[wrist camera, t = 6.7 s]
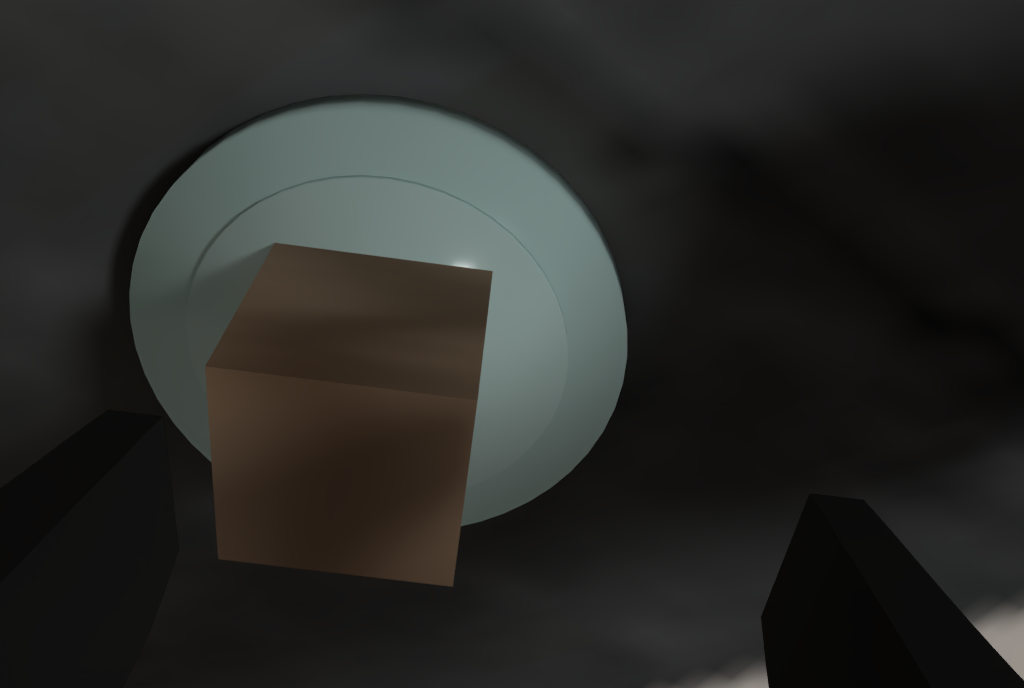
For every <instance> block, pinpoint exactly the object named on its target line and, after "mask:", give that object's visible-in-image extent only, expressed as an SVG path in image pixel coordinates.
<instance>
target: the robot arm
mask: <svg viewBox="0 0 1024 688" xmlns="http://www.w3.org/2000/svg"><path fill="white" fill-rule="evenodd" d="M178 551H179V546H178V538H177V529H176V521H175V512H174V504H173V495H172V486H171V478H170V469H169V461H168V452H167V444H166V435H165V427H164V418H163V416H154V415H146V414H138V413H129V412H121V411H112V410H107V411H106V412H104V413H103V414H101V415H100V416H99V417H97V418H96V419H94V420H93V421H92V422H90V423H89V424H87V425H86V426H85V427H83V428H82V429H81V430H79V431H78V432H76V433H75V434H74V435H72V436H71V437H70V438H68V439H67V440H66V441H64V442H63V443H61V444H60V445H59V446H57V447H56V448H55V449H53V450H52V451H51V452H49V453H48V454H47V455H45V456H44V457H42V458H41V459H40V460H38V461H37V462H36V463H34V464H33V465H32V466H30V467H29V468H28V469H26V470H25V471H23V472H22V473H21V474H19V475H18V476H17V477H15V478H14V479H13V480H11V481H10V482H9V483H7V484H6V485H4V486H3V487H2V488H0V688H122V687H123V685H124V683H125V681H126V679H127V677H128V675H129V673H130V671H131V669H132V667H133V665H134V663H135V661H136V659H137V657H138V655H139V653H140V651H141V649H142V647H143V645H144V643H145V641H146V639H147V637H148V635H149V632H150V630H151V627H152V624H153V622H154V619H155V616H156V613H157V611H158V608H159V605H160V603H161V600H162V597H163V594H164V591H165V589H166V586H167V583H168V580H169V577H170V574H171V571H172V568H173V565H174V562H175V559H176V556H177V553H178ZM761 621H762V630H763V640H764V650H765V660H766V669H767V676H768V684H769V688H1024V680H1023V679H1022V678H1021V677H1020V676H1019V675H1018V674H1017V673H1016V672H1015V671H1014V670H1013V669H1012V668H1011V667H1010V665H1008V663H1007V662H1006V661H1005V660H1004V659H1003V658H1002V657H1001V656H1000V655H999V653H998V652H997V651H996V650H995V649H994V648H993V647H992V646H991V645H990V644H989V642H988V641H987V640H986V639H985V638H984V637H983V636H982V635H981V633H980V632H979V631H978V630H977V629H976V628H975V627H974V626H973V625H972V623H971V622H970V621H969V620H968V619H967V618H966V617H965V616H964V614H963V613H962V612H961V611H960V610H959V609H958V608H957V606H956V605H955V604H954V603H953V602H952V601H951V600H950V598H949V597H948V596H947V595H946V594H945V593H944V592H943V590H942V589H941V588H940V587H939V586H938V585H937V583H936V582H935V581H934V580H933V579H932V578H931V576H930V575H929V574H928V573H927V572H926V571H925V570H924V568H923V567H922V566H921V565H920V564H919V563H918V561H917V560H916V559H915V558H914V557H913V556H912V554H911V553H910V552H909V551H908V550H907V549H906V547H905V546H904V545H903V544H902V543H901V542H900V540H899V539H898V538H897V537H896V536H895V535H894V533H893V532H892V531H891V530H890V529H889V528H888V527H887V525H886V524H885V523H884V522H883V521H882V520H881V519H880V517H879V516H878V515H877V514H876V513H875V512H874V511H873V510H872V509H871V508H870V506H869V505H868V504H867V503H866V502H865V501H864V500H860V499H852V498H843V497H835V496H826V495H818V494H809V496H808V499H807V501H806V504H805V507H804V509H803V512H802V514H801V517H800V519H799V522H798V524H797V527H796V529H795V532H794V534H793V537H792V540H791V542H790V545H789V547H788V550H787V552H786V555H785V557H784V560H783V562H782V565H781V567H780V570H779V573H778V575H777V578H776V580H775V583H774V585H773V588H772V590H771V593H770V595H769V598H768V600H767V603H766V606H765V608H764V611H763V613H762V616H761Z"/></svg>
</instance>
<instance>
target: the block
mask: <svg viewBox="0 0 1024 688" xmlns="http://www.w3.org/2000/svg"><path fill="white" fill-rule="evenodd" d="M492 274H493V271H488V270H481V269H473V268H465V267H458V266H450V265H442V264H435V263H427V262H419V261H412V260H404V259H396V258H389V257H381V256H373V255H366V254H358V253H350V252H343V251H335V250H327V249H320V248H312V247H304V246H297V245H289V244H281V243H274V245H273V247H272V249H271V251H270V252H269V254H268V256H267V258H266V259H265V261H264V263H263V265H262V266H261V268H260V270H259V272H258V274H257V275H256V277H255V279H254V281H253V282H252V284H251V286H250V288H249V289H248V291H247V293H246V295H245V296H244V298H243V300H242V302H241V304H240V305H239V307H238V309H237V311H236V312H235V314H234V316H233V318H232V319H231V321H230V323H229V325H228V327H227V328H226V330H225V332H224V334H223V335H222V337H221V339H220V341H219V342H218V344H217V346H216V348H215V350H214V351H213V353H212V355H211V357H210V358H209V360H208V362H207V364H206V365H205V374H206V389H207V403H208V418H209V432H210V447H211V462H212V476H213V491H214V505H215V520H216V534H217V549H218V559H221V560H230V561H238V562H247V563H255V564H264V565H272V566H281V567H289V568H298V569H306V570H315V571H323V572H332V573H340V574H349V575H357V576H366V577H374V578H383V579H391V580H400V581H408V582H417V583H425V584H434V585H442V586H450V587H453V582H454V574H455V567H456V559H457V552H458V544H459V537H460V529H461V522H462V514H463V507H464V499H465V491H466V484H467V476H468V469H469V461H470V454H471V446H472V439H473V431H474V424H475V416H476V409H477V401H478V393H479V384H480V376H481V367H482V359H483V350H484V342H485V333H486V325H487V316H488V308H489V299H490V291H491V282H492Z"/></svg>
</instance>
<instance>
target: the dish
mask: <svg viewBox="0 0 1024 688" xmlns="http://www.w3.org/2000/svg"><path fill="white" fill-rule="evenodd" d="M274 243H281V244H289V245H297V246H304V247H312V248H320V249H327V250H335V251H343V252H350V253H358V254H366V255H373V256H381V257H389V258H396V259H404V260H412V261H419V262H427V263H435V264H442V265H450V266H458V267H465V268H473V269H481V270H488V271H493V274H492V282H491V291H490V299H489V308H488V316H487V325H486V333H485V342H484V350H483V359H482V367H481V376H480V384H479V393H478V401H477V409H476V416H475V424H474V431H473V439H472V446H471V454H470V461H469V469H468V476H467V484H466V491H465V499H464V507H463V514H462V522H461V526H464V525H468V524H473V523H477V522H481V521H483V520H486V519H489V518H492V517H495V516H498V515H501V514H504V513H506V512H508V511H510V510H513V509H515V508H517V507H519V506H521V505H523V504H525V503H527V502H529V501H531V500H532V499H534V498H536V497H537V496H539V495H540V494H542V493H544V492H545V491H547V490H548V489H550V488H551V487H553V486H554V485H555V484H556V483H557V482H559V481H560V480H561V479H562V478H564V477H565V476H566V475H567V474H568V473H570V472H571V471H572V470H573V469H574V468H575V467H576V465H577V464H578V463H579V462H580V461H581V460H582V459H583V458H584V457H585V456H586V455H587V454H588V453H589V451H590V450H591V448H592V447H593V445H594V444H595V443H596V441H597V440H598V438H599V437H600V436H601V434H602V433H603V431H604V429H605V427H606V425H607V423H608V421H609V419H610V417H611V415H612V413H613V411H614V409H615V407H616V403H617V400H618V397H619V394H620V391H621V388H622V385H623V380H624V374H625V367H626V361H627V324H626V316H625V308H624V302H623V295H622V289H621V282H620V277H619V274H618V271H617V268H616V264H615V261H614V258H613V255H612V252H611V249H610V247H609V245H608V243H607V241H606V239H605V237H604V235H603V233H602V231H601V229H600V227H599V225H598V223H597V221H596V220H595V218H594V217H593V215H592V214H591V212H590V211H589V209H588V208H587V206H586V205H585V203H584V202H583V201H582V199H581V198H580V196H579V195H578V194H577V193H576V192H575V191H574V190H573V189H572V187H571V186H570V185H569V184H568V183H567V182H566V181H565V180H564V178H563V177H562V176H561V175H560V174H559V173H558V172H557V171H556V170H555V169H553V168H552V167H551V166H550V165H549V164H548V163H546V162H545V161H544V160H543V159H542V158H541V157H539V156H538V155H537V154H536V153H535V152H534V151H532V150H531V149H529V148H528V147H526V146H525V145H523V144H522V143H520V142H519V141H517V140H516V139H514V138H512V137H511V136H509V135H508V134H506V133H505V132H503V131H501V130H499V129H497V128H495V127H493V126H491V125H489V124H487V123H485V122H483V121H481V120H479V119H477V118H475V117H473V116H470V115H467V114H464V113H461V112H458V111H456V110H453V109H450V108H447V107H444V106H441V105H438V104H434V103H429V102H424V101H419V100H414V99H409V98H404V97H397V96H384V95H370V94H357V95H339V96H327V97H322V98H317V99H311V100H306V101H301V102H296V103H293V104H290V105H287V106H284V107H281V108H278V109H275V110H272V111H269V112H266V113H263V114H261V115H259V116H257V117H255V118H254V119H252V120H250V121H248V122H246V123H244V124H242V125H240V126H238V127H236V128H234V129H233V130H231V131H230V132H229V133H227V134H226V135H224V136H223V137H222V138H220V139H219V140H218V141H216V142H215V143H213V144H212V145H211V146H209V147H208V148H207V149H206V150H205V151H204V152H203V153H202V154H201V155H200V156H199V157H198V158H197V159H196V160H195V161H194V162H193V163H192V164H191V165H190V166H189V167H188V168H187V169H186V170H185V172H184V173H183V174H182V175H181V176H180V177H179V178H178V180H177V181H176V182H175V183H174V184H173V185H172V186H171V188H170V189H169V191H168V192H167V193H166V195H165V196H164V197H163V199H162V200H161V202H160V203H159V204H158V206H157V207H156V209H155V210H154V211H153V213H152V215H151V218H150V220H149V222H148V224H147V226H146V228H145V230H144V232H143V234H142V236H141V238H140V242H139V245H138V248H137V252H136V255H135V259H134V262H133V266H132V274H131V283H130V291H129V298H130V321H131V326H132V332H133V337H134V342H135V347H136V350H137V353H138V356H139V359H140V362H141V365H142V368H143V370H144V373H145V376H146V377H147V379H148V381H149V383H150V385H151V387H152V389H153V391H154V393H155V395H156V397H157V399H158V401H159V402H160V404H161V405H162V407H163V408H164V410H165V411H166V413H167V414H168V416H169V417H170V419H171V420H172V422H173V423H174V424H175V425H176V426H177V428H178V429H179V430H180V431H181V432H182V433H183V434H184V436H185V437H186V438H187V439H188V440H189V441H190V443H191V444H192V445H193V446H194V447H195V448H197V449H198V450H199V451H200V452H201V453H202V454H203V455H204V456H205V457H206V458H207V459H208V460H209V461H210V462H211V447H210V432H209V418H208V403H207V389H206V374H205V365H206V364H207V362H208V360H209V358H210V357H211V355H212V353H213V351H214V350H215V348H216V346H217V344H218V342H219V341H220V339H221V337H222V335H223V334H224V332H225V330H226V328H227V327H228V325H229V323H230V321H231V319H232V318H233V316H234V314H235V312H236V311H237V309H238V307H239V305H240V304H241V302H242V300H243V298H244V296H245V295H246V293H247V291H248V289H249V288H250V286H251V284H252V282H253V281H254V279H255V277H256V275H257V274H258V272H259V270H260V268H261V266H262V265H263V263H264V261H265V259H266V258H267V256H268V254H269V252H270V251H271V249H272V247H273V245H274Z"/></svg>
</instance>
